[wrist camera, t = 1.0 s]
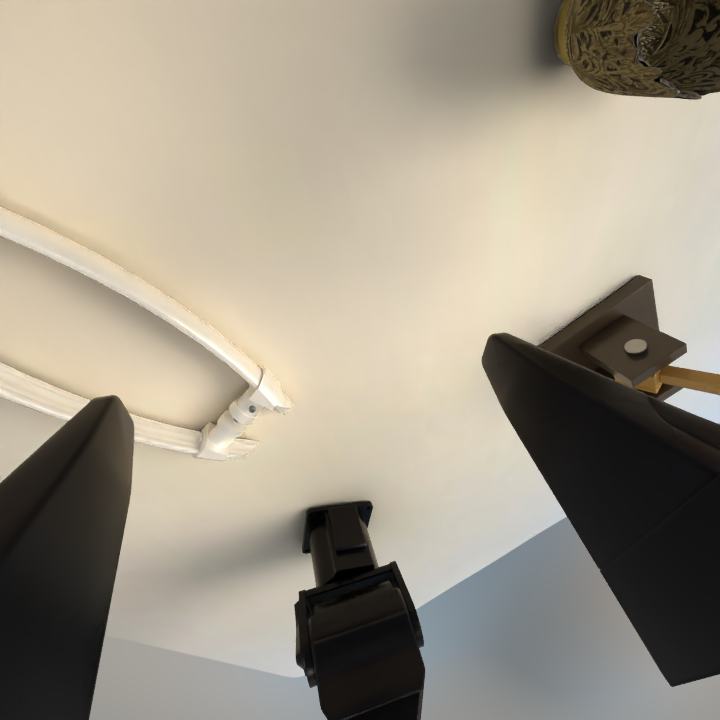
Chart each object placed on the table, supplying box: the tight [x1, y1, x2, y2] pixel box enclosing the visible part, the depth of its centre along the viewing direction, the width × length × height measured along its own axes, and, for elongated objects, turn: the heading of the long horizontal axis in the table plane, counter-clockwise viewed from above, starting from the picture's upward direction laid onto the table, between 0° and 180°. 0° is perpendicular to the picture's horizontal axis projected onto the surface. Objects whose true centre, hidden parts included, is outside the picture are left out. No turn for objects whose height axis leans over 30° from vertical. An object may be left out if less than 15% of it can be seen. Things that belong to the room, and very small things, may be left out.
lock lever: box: [614, 365, 720, 395], centre depth 26 cm, size 9×5×2 cm
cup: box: [553, 0, 720, 99], centre depth 16 cm, size 8×7×8 cm
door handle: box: [0, 206, 294, 461], centre depth 19 cm, size 3×10×25 cm
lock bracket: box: [539, 275, 687, 401], centre depth 29 cm, size 10×8×6 cm
